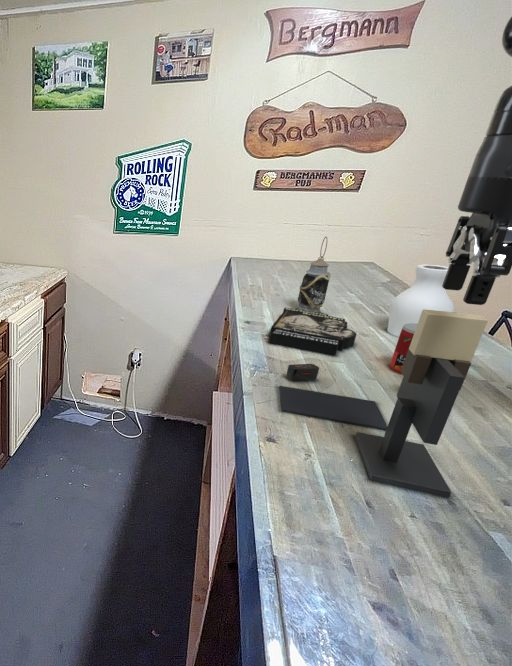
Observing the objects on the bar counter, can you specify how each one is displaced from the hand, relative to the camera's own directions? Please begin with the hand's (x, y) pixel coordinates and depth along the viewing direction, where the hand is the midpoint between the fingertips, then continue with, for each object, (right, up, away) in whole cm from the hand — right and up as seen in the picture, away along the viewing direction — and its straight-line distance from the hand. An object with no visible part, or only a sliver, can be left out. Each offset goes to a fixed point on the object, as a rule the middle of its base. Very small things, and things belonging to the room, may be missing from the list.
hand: (461, 296), depth 65 cm
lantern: (+33, +8, +92) cm, 98 cm away
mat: (0, -19, +30) cm, 35 cm away
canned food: (+30, -12, +46) cm, 57 cm away
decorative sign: (+21, -2, +69) cm, 73 cm away
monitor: (0, -27, +12) cm, 29 cm away
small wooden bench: (0, -12, +5) cm, 13 cm away
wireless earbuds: (+2, -14, +43) cm, 45 cm away
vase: (+51, -2, +70) cm, 87 cm away
